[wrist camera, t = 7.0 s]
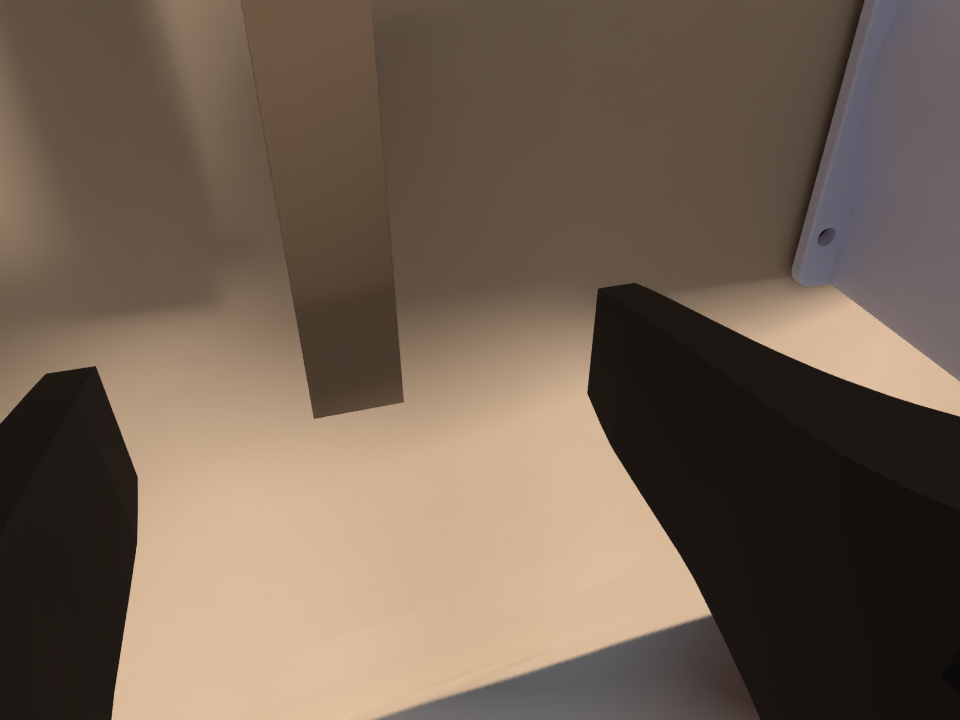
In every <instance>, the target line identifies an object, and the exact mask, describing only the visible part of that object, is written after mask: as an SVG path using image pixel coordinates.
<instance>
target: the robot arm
mask: <svg viewBox="0 0 960 720" xmlns="http://www.w3.org/2000/svg"><path fill="white" fill-rule="evenodd" d="M825 229H826V230H825ZM824 230H825V232H824V233H823V235H822V236H821V237H819V235H820V233H821V232H822V231H824ZM818 237H819V238H818ZM792 276H793V279H794V280H796V281H797V282H798V283H799V284H801V285H802V286H804V287H815V286H821V285H827V284H831V285H833V286H834V287H835V288H837V289H838V290H839V291H841V292H842V293H843V294H845V295H846V296H847V297H849V298H850V299H851V300H853V301H854V302H855V303H857V304H858V305H859V306H861V307H862V308H863V309H865V310H866V311H867V312H869V313H870V314H871V315H873V316H874V317H875V318H876V319H878V320H879V321H880V322H882V323H883V324H884V325H886V326H887V327H888V328H890V329H891V330H892V331H894V332H895V333H896V334H898V335H899V336H900V337H902V338H903V339H904V340H906V341H907V342H908V343H910V344H911V345H912V346H914V347H915V348H916V349H918V350H919V351H920V352H922V353H923V354H924V355H926V356H927V357H928V358H930V359H931V360H932V361H934V362H935V363H936V364H937V365H939V366H940V367H941V368H943V369H944V370H945V371H947V372H948V373H949V374H951V375H952V376H953V377H955V378H956V379H957V380H959V381H960V0H865V1H864V4H863V8H862V12H861V15H860V19H859V23H858V27H857V30H856V34H855V38H854V41H853V45H852V49H851V52H850V56H849V60H848V63H847V67H846V71H845V75H844V78H843V82H842V86H841V89H840V93H839V97H838V100H837V104H836V108H835V111H834V115H833V119H832V122H831V126H830V130H829V134H828V137H827V141H826V145H825V148H824V152H823V156H822V159H821V163H820V167H819V170H818V174H817V178H816V182H815V185H814V189H813V193H812V196H811V200H810V204H809V207H808V211H807V215H806V218H805V222H804V226H803V230H802V233H801V237H800V241H799V244H798V248H797V252H796V255H795V259H794V263H793V266H792ZM587 394H588V396H589V398H590V401H591V403H592V405H593V408H594V410H595V412H596V415H597V417H598V419H599V422H600V424H601V426H602V428H603V430H604V432H605V434H606V436H607V439H608V441H609V443H610V445H611V447H612V448H613V450H614V452H615V453H616V455H617V457H618V458H619V460H620V461H621V463H622V465H623V466H624V468H625V469H626V471H627V472H628V474H629V476H630V477H631V479H632V480H633V482H634V484H635V485H636V487H637V488H638V490H639V491H640V493H641V495H642V496H643V498H644V499H645V501H646V502H647V504H648V505H649V507H650V509H651V510H652V512H653V513H654V515H655V516H656V518H657V519H658V521H659V523H660V524H661V526H662V527H663V529H664V530H665V532H666V533H667V535H668V537H669V538H670V540H671V541H672V543H673V544H674V546H675V548H676V549H677V551H678V552H679V554H680V555H681V557H682V559H683V561H684V562H685V564H686V566H687V567H688V569H689V571H690V573H691V574H692V576H693V578H694V580H695V581H696V583H697V585H698V587H699V589H700V591H701V593H702V595H703V597H704V599H705V602H706V604H707V606H708V608H709V610H710V612H711V614H712V616H713V618H714V620H715V622H716V624H717V626H718V628H719V630H720V631H721V634H722V636H723V638H724V640H725V642H726V644H727V646H728V649H729V651H730V653H731V655H732V657H733V659H734V662H735V664H736V666H737V668H738V670H739V672H740V675H741V676H742V679H743V681H744V683H745V685H746V687H747V689H748V692H749V694H750V696H751V699H752V701H753V703H754V705H755V708H756V710H757V712H758V715H759V717H760V719H761V720H960V417H959V416H956V415H952V414H949V413H945V412H942V411H938V410H934V409H931V408H927V407H924V406H920V405H917V404H914V403H911V402H907V401H904V400H901V399H898V398H895V397H892V396H889V395H886V394H883V393H880V392H877V391H874V390H872V389H869V388H866V387H863V386H860V385H858V384H855V383H852V382H849V381H846V380H844V379H841V378H838V377H836V376H833V375H831V374H828V373H826V372H823V371H821V370H818V369H816V368H814V367H811V366H809V365H807V364H804V363H802V362H800V361H797V360H795V359H793V358H791V357H788V356H786V355H784V354H781V353H779V352H777V351H775V350H773V349H770V348H768V347H766V346H764V345H762V344H760V343H758V342H755V341H753V340H751V339H749V338H747V337H745V336H743V335H741V334H739V333H737V332H735V331H733V330H731V329H729V328H727V327H725V326H723V325H721V324H719V323H717V322H715V321H713V320H711V319H709V318H707V317H705V316H703V315H701V314H699V313H697V312H695V311H693V310H691V309H689V308H687V307H685V306H683V305H681V304H679V303H678V302H676V301H673V300H671V299H669V298H667V297H665V296H663V295H661V294H659V293H657V292H655V291H653V290H650V289H648V288H646V287H643V286H641V285H638V284H636V283H631V284H625V285H618V286H612V287H605V288H599V289H598V294H597V304H596V314H595V323H594V333H593V343H592V353H591V363H590V372H589V382H588V392H587ZM137 524H138V477H137V474H136V472H135V469H134V466H133V464H132V461H131V458H130V456H129V453H128V450H127V448H126V445H125V443H124V440H123V437H122V435H121V432H120V429H119V427H118V424H117V421H116V419H115V416H114V413H113V411H112V408H111V405H110V403H109V400H108V397H107V395H106V392H105V389H104V387H103V384H102V381H101V379H100V376H99V374H98V371H97V368H96V366H94V367H87V368H81V369H74V370H68V371H61V372H55V373H48V374H46V375H45V376H44V377H43V378H42V379H41V380H40V381H39V382H38V383H37V384H36V385H35V386H34V387H33V388H32V389H31V390H30V391H29V392H28V393H27V395H26V396H25V397H24V398H23V399H22V400H21V401H20V402H19V404H18V405H17V406H16V407H15V408H14V409H13V410H12V411H11V413H10V414H9V415H8V416H7V417H6V418H5V419H4V420H3V422H2V423H1V424H0V720H111V718H112V709H113V699H114V691H115V684H116V678H117V672H118V665H119V659H120V652H121V646H122V640H123V633H124V627H125V620H126V614H127V607H128V601H129V595H130V588H131V581H132V574H133V568H134V561H135V554H136V546H137Z"/></svg>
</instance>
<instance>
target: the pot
mask: <svg viewBox="0 0 960 720" xmlns="http://www.w3.org/2000/svg"><path fill="white" fill-rule="evenodd" d="M241 4H242V10H243V15H244V21H245V27H246V32H247V38H248V44H249V50H250V55H251V61H252V67H253V73H254V78H255V84H256V90H257V95H258V101H259V107H260V113H261V118H262V124H263V130H264V136H265V141H266V147H267V153H268V158H269V164H270V170H271V176H272V181H273V187H274V193H275V199H276V204H277V210H278V216H279V221H280V227H281V233H282V239H283V244H284V250H285V256H286V262H287V267H288V273H289V279H290V284H291V290H292V296H293V302H294V307H295V313H296V319H297V325H298V330H299V336H300V342H301V347H302V353H303V359H304V365H305V370H306V376H307V382H308V387H309V393H310V399H311V404H312V410H313V416H314V419H315V418H321V417H326V416H332V415H337V414H342V413H348V412H353V411H359V410H364V409H369V408H375V407H380V406H386V405H391V404H397V403H402V402H404V399H403V387H402V375H401V363H400V350H399V338H398V326H397V314H396V301H395V289H394V277H393V265H392V253H391V240H390V228H389V216H388V204H387V191H386V179H385V167H384V155H383V142H382V130H381V118H380V106H379V93H378V81H377V69H376V57H375V44H374V32H373V20H372V8H371V0H241Z"/></svg>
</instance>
